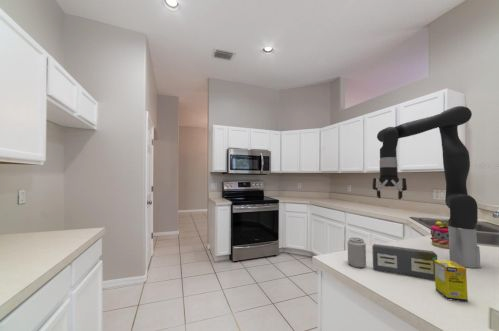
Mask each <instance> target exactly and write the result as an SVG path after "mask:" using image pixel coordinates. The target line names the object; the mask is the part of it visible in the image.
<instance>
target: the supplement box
mask: <svg viewBox="0 0 499 331" xmlns="http://www.w3.org/2000/svg"><path fill="white" fill-rule="evenodd" d="M434 264H435V280H434V281H435V284H434V286H435V291H436V292H437V293H438V294H440V295H441V296H442V295H443V296H442V297H443V298H445V299H446V298H447V299H446V300H448V299H452V300H451V301H457V300H459V302H465V301H467V302H466V303H468V302H469V299H468V280H467V267H463V266H460V265H458V264H457V263H455V262H453V261H450V260H448V261H447V260H439V259H437V260H434Z"/></svg>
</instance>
